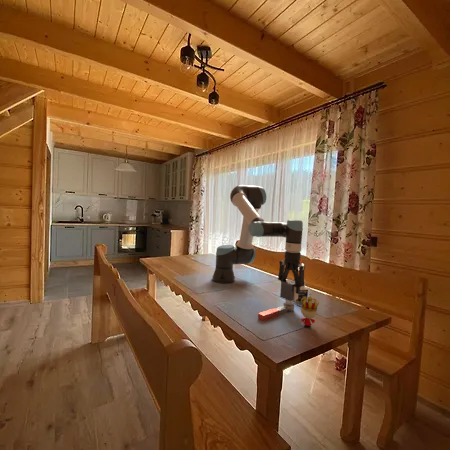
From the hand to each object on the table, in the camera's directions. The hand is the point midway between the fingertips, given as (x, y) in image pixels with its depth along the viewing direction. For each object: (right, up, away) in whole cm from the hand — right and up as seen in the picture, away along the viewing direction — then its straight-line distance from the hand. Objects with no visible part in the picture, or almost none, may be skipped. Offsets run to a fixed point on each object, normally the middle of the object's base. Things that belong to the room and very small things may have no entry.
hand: (289, 297), depth 128 cm
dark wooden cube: (0, 0, 0) cm, 0 cm away
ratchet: (-7, -7, -5) cm, 11 cm away
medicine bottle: (+9, -6, +16) cm, 19 cm away
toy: (+4, -8, -17) cm, 19 cm away
